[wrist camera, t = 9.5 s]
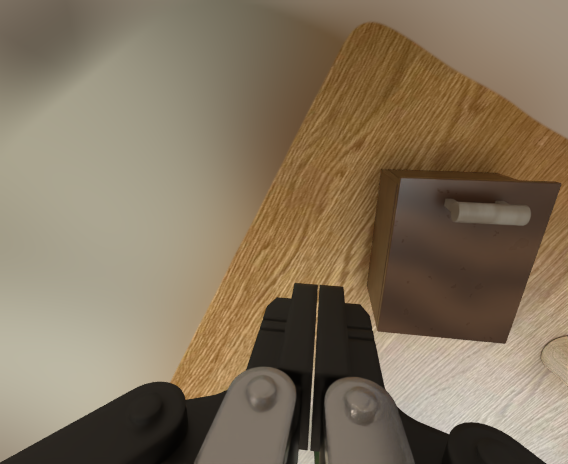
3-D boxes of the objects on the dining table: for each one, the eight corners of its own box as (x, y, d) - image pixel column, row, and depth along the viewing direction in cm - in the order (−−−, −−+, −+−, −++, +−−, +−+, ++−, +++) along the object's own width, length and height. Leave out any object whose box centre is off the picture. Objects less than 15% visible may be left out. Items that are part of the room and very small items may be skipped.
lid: (398, 176, 27) (411, 187, 23) (556, 181, 25) (598, 194, 21) (376, 327, 33) (382, 356, 29) (502, 339, 31) (527, 372, 27)
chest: (381, 169, 36) (396, 184, 28) (496, 172, 34) (549, 189, 26) (366, 285, 41) (376, 327, 33) (466, 293, 40) (501, 339, 31)
